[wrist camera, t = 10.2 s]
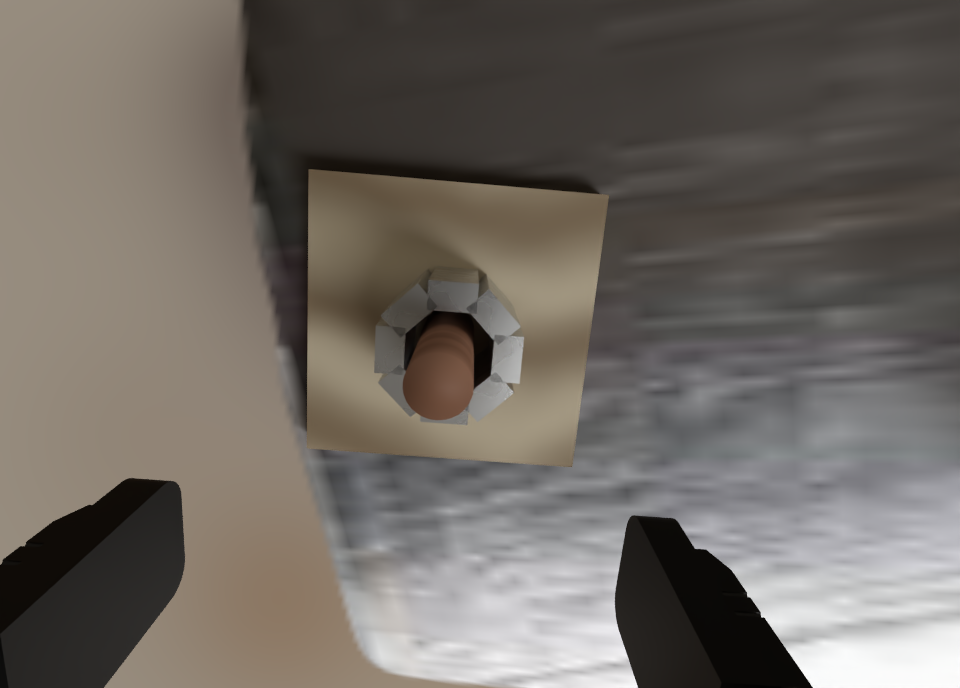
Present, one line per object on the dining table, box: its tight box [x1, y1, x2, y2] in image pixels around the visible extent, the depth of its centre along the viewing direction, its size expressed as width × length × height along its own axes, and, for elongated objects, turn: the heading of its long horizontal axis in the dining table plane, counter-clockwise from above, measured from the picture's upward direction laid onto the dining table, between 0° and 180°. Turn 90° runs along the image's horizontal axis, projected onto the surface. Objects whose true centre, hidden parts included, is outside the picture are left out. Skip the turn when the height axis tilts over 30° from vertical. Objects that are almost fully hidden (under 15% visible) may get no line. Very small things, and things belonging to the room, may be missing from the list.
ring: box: [374, 266, 524, 425], centre depth 25 cm, size 6×6×5 cm
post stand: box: [307, 169, 609, 467], centre depth 24 cm, size 14×14×10 cm
